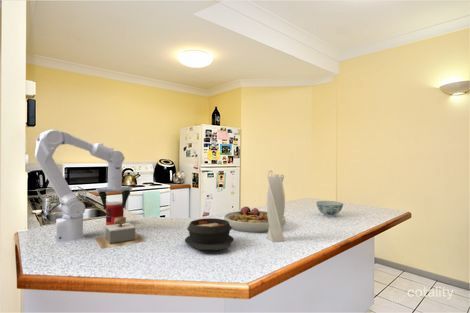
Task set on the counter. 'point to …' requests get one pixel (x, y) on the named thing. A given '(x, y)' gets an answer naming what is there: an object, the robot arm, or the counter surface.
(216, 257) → the counter surface
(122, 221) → the plunger
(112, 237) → the grey rectangular block
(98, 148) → the robot arm
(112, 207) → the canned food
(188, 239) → the casserole
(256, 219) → the bowl
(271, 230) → the skyscraper
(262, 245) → the counter surface
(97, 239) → the cork trivet
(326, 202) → the chinaware
